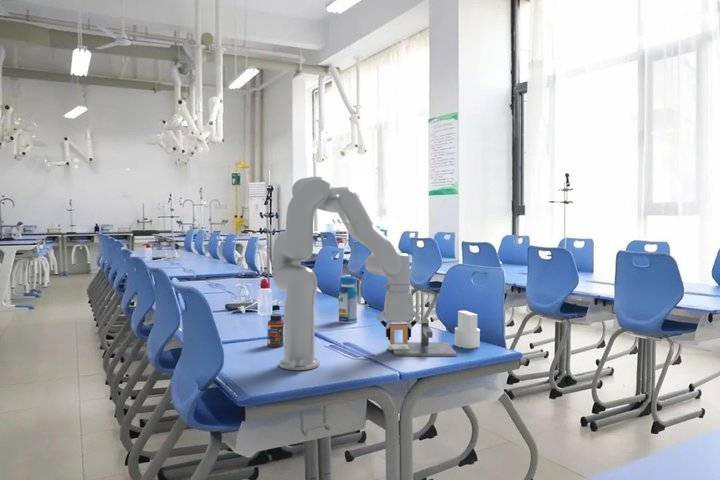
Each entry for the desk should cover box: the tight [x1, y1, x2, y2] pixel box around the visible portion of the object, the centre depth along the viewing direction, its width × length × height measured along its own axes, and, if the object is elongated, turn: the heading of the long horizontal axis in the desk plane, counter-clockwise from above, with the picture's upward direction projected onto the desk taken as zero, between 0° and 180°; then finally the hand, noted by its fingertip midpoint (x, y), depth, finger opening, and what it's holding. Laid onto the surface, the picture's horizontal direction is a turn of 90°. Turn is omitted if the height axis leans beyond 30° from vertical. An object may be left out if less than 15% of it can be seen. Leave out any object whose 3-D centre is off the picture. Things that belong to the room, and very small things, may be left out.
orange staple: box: [389, 322, 409, 344], centre depth 194 cm, size 4×6×7 cm, turn 91°
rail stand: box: [387, 321, 457, 357], centre depth 194 cm, size 16×22×9 cm
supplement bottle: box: [266, 313, 284, 348], centre depth 200 cm, size 6×6×11 cm
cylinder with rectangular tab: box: [454, 310, 481, 349], centre depth 202 cm, size 9×9×12 cm
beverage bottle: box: [337, 275, 358, 324], centre depth 244 cm, size 8×8×20 cm
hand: (398, 338), depth 194 cm, fingers closed on orange staple, 6 cm apart
